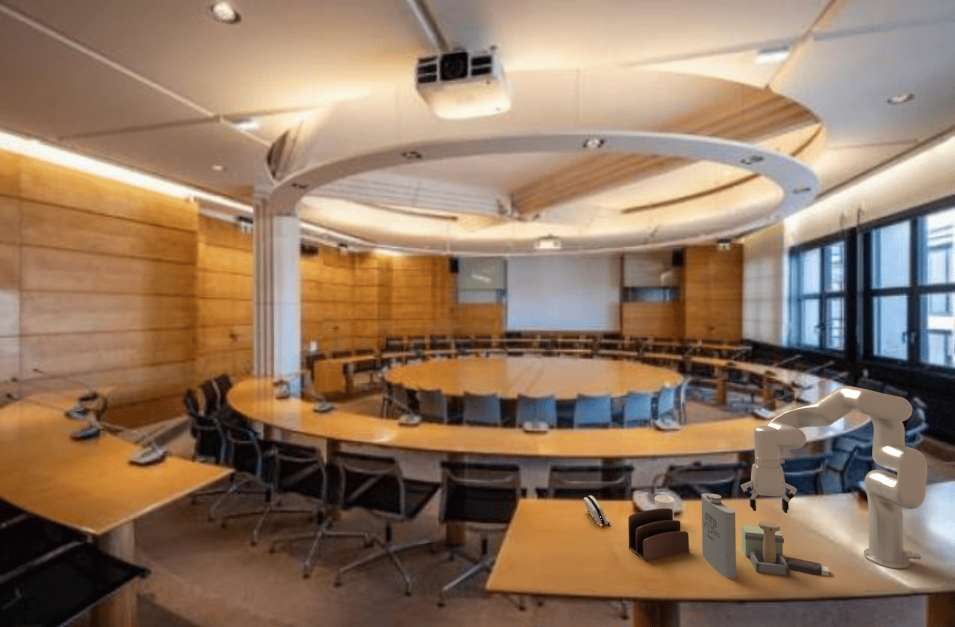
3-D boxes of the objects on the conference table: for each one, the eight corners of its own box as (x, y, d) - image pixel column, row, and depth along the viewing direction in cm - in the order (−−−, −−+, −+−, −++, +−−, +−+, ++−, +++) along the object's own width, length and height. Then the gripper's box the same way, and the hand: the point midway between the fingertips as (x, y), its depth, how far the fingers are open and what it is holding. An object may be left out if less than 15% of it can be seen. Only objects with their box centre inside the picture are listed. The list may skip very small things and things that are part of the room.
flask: (698, 553, 184) (697, 486, 184) (710, 552, 184) (709, 486, 184) (725, 579, 166) (723, 505, 166) (738, 578, 167) (736, 504, 166)
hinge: (611, 526, 208) (603, 504, 208) (601, 530, 208) (593, 508, 207) (598, 510, 225) (590, 489, 225) (588, 514, 225) (581, 494, 224)
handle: (757, 562, 177) (757, 520, 177) (778, 564, 175) (777, 522, 175) (760, 568, 172) (760, 526, 172) (781, 571, 170) (781, 528, 170)
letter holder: (628, 549, 189) (627, 512, 189) (672, 540, 194) (671, 505, 194) (644, 561, 179) (643, 523, 179) (689, 552, 185) (688, 515, 185)
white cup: (676, 520, 212) (676, 497, 212) (672, 527, 206) (672, 503, 206) (657, 516, 217) (657, 493, 216) (653, 523, 210) (652, 500, 210)
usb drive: (786, 562, 177) (786, 555, 177) (827, 571, 170) (827, 563, 170) (786, 569, 172) (786, 561, 172) (828, 578, 166) (828, 570, 166)
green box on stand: (778, 552, 183) (778, 528, 183) (793, 576, 167) (792, 549, 167) (741, 548, 187) (741, 525, 187) (752, 571, 171) (752, 545, 171)
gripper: (791, 459, 174) (793, 508, 174) (737, 457, 179) (739, 504, 179) (799, 466, 167) (801, 517, 167) (742, 464, 172) (744, 513, 172)
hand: (769, 510), depth 173 cm, fingers open, 9 cm apart
